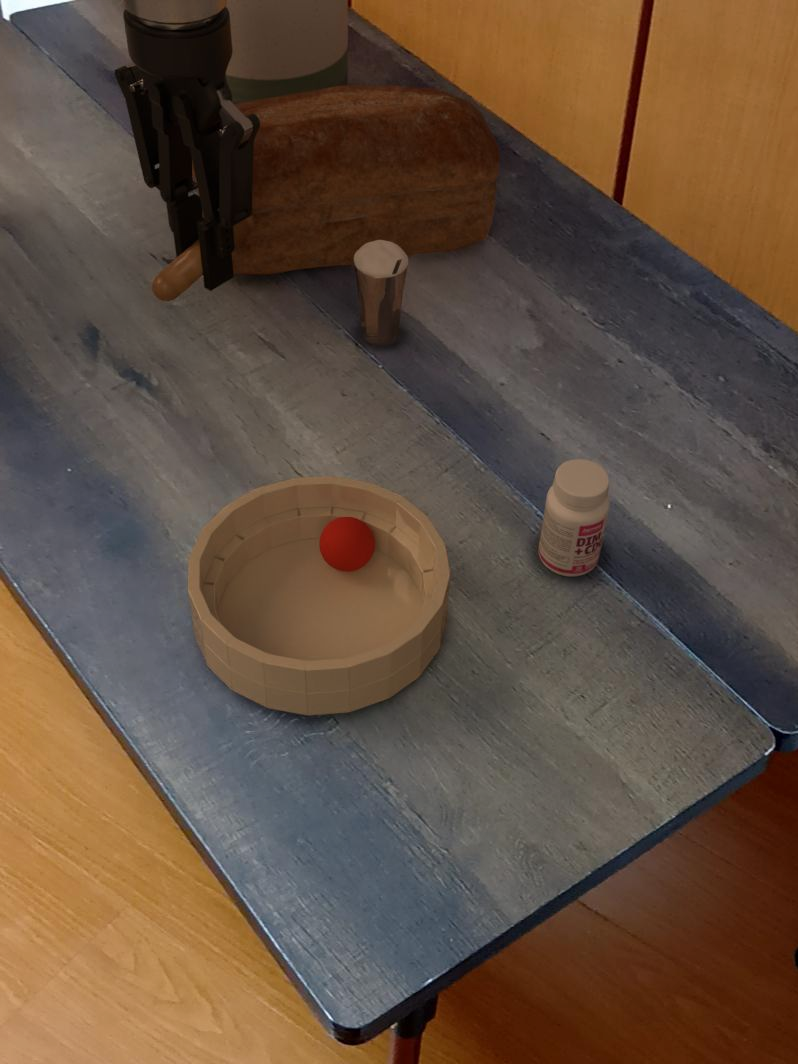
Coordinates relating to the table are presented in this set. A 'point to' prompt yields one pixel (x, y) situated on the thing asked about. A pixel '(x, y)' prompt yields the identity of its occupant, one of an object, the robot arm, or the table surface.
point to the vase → (286, 47)
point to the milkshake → (380, 290)
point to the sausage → (190, 266)
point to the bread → (365, 176)
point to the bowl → (317, 597)
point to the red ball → (347, 544)
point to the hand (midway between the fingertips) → (206, 274)
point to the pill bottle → (575, 518)
